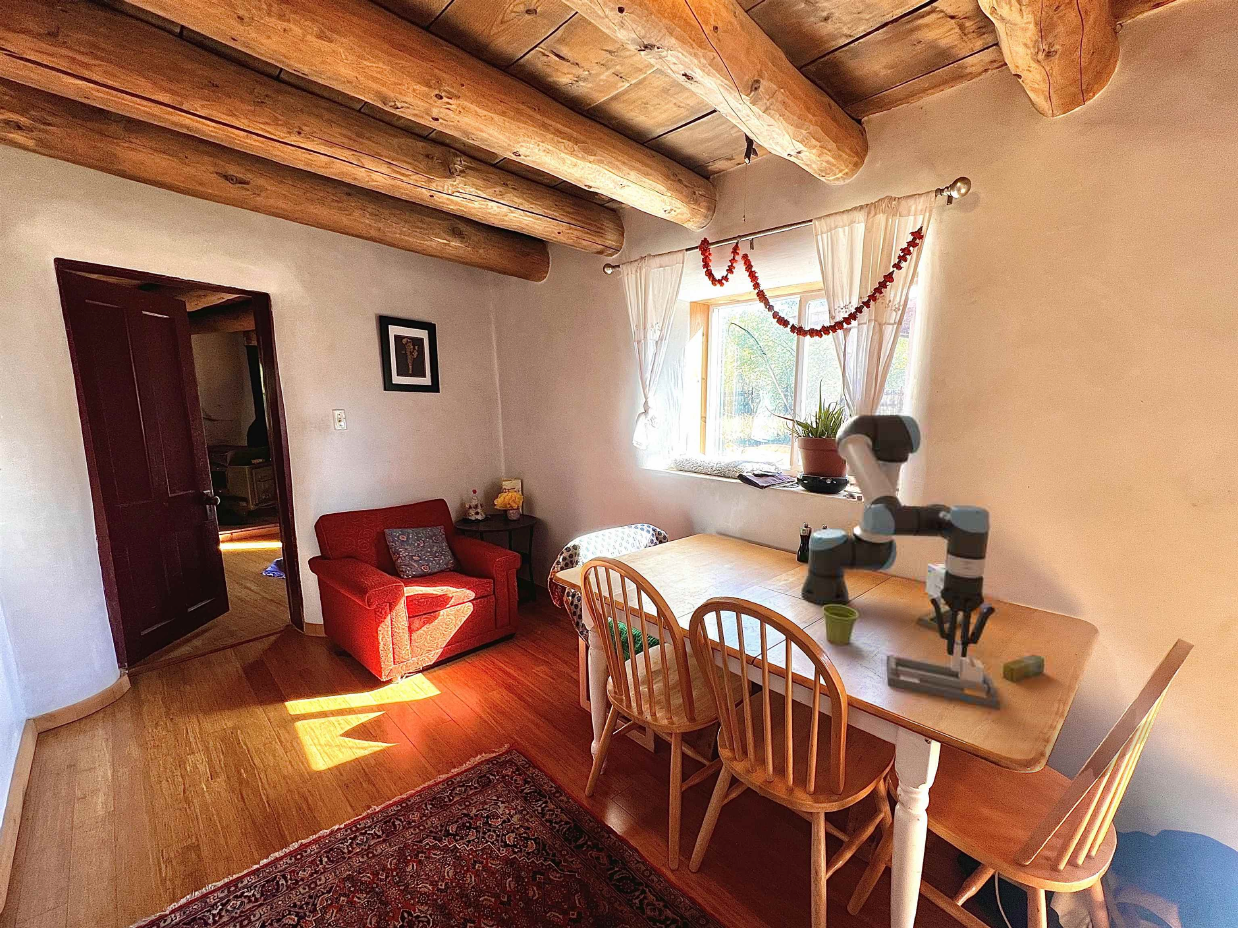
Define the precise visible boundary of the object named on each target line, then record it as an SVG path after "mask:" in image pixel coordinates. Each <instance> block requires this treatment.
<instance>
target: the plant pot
mask: <svg viewBox="0 0 1238 928" xmlns="http://www.w3.org/2000/svg"><path fill="white" fill-rule="evenodd" d="M822 612H823V615H824V622H825V633H826V635H825V636H826V639H827V641H830V642H831V643H833V644H836V645H841V646H842V645H846V644H850V642H851V639H852V632H853V629H854V625H855V622H856V621H857V618H858V617H859V613H858V611H857V610H856V609H853V608H851V607H849V606H845V605H823V606H822Z"/></svg>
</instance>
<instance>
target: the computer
mask: <svg viewBox="0 0 1238 928" xmlns="http://www.w3.org/2000/svg"><path fill="white" fill-rule="evenodd" d="M940 608H941V612H942V617H943V623H944V628H945V632H946V633H948V626H949V615H950V608H949V607H948V606H947V605H946V606H945V605H944V604H943V605H942V604H941V605H940ZM962 615H963V612H958V616H957V626H956V627H958V626H959V625H962ZM915 624H916V625H918V626H919V627H920V626H921V627H924V628H927V629H929V630H932V631H935V632H938V633H939V630H938V625H937V619H936V614H935V609H934V608H933V609H932V610H930V611H927V612H925V613H923V614H922V615H920V616H918V617H917V618H916V622H915Z"/></svg>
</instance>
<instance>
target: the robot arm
mask: <svg viewBox="0 0 1238 928" xmlns="http://www.w3.org/2000/svg"><path fill="white" fill-rule="evenodd" d="M921 439H922V437H921V431H920V427H919V425H918V423H917V421H916V419H915V418H913V416H910V415H900V414H858V415H855V416H853V417H851V418H849V419H847V420H846V421H844V422H843V423H842V424H841V426H840V428H839V429H838V430H837V433H836V436H835V448H836V450H837V453H838V456H840V458H841V459H843V460H845V461H846V463H847V465H848V467H849V469H850V472H851V475H852V476H853V478H854V480H855V483H856V485H857V487H858V489H859V491H860V494H861V496H862V497H863V505H862V510H861V516H860V523H859V525H857V526H855V527H854V529H853V533H852V534H851V535H850V534H849V535H848V534H847V532H846V531H844V530H842V529H833V528H831V529H830V528H829V529H820V530H816V531H814V532H813V533H812V534H811V535H810V538H809V544H808V548H809V549H808V566H807V575H806V578H805V580H804V581H803V585H802V587H801V596H802V598H803V599H804V600H806V601H808V602H811V603H814V604H817V605H822V606H826V605H842V606H845V605H847V604H848V603H849V597H850V594H849V590H848V588H847V584H846V583H847V582H846V580H845V579H846V578H845V571H847V570H851V571H854V570H855V571H872V572H879V571H888V570H890V569H891V568H892V567H893V565H894V564H895V562H896V559H897V553H898V551H897V541H895V539H894V538H893V536H896V537H897V536H899V537H900V536H901V537H906V536H908V537H930V538H932V537H933V538H936V537H938V538H941V539H944V540H946V541H947V543H946V546H947V547H946V557H945V563H944V564H945V568H946V569H947V570H946V571H945V575H944V586H943V589H942V590H941V592H940V594H939V595H936V596H933V595H931V596H930V595H929V597H928V598H929V601H930V602H929V603H931V605H932V607H933V609H935V614H936V619H937V625H938V630H939V632H938V633H939V637H940V639H942V640H946V642H947V643H946V644H947V645H946V652H947V655H948V656H950V665H949V666H951V668H952V670H953V671H958V672H960V662H961V657H964V658H965V657H966V658H967V652H968V647H969V645H972V644H973V645H977V644H978V643H979V641H980V638H981V636H982V634H983V631H984V629H985V626H986V625H987V622H988V619H989V617H990V616H991V615H993V614H994V613H995V611H996V610H995V608H994V606H993V604H991V603H988V602H987V601H985V598H984V596H983V589H984V588H983V587H984V579H985V578H984V577H983V575H985V567H986V555H987V549H988V542H989V541H988V540H989V531H990V528H991V527H990V526H991V525H990V513H989V511H988V509H985V508H983V507H980V506H979V507H978V506H975V505H966V504H964V505H963V504H958V505H953V506H952V507H950V506H949V505H948V506H947V505H946V504H940V503H935V502H934V503H929V504H927V505H902V502H901V501H900V499H899V498H898V496H897V494H896V493H897V488H898V483H899V479H900V473H901V469H902V465H903V464H905V463H907V462H908V461H909V456H910V454H915V453H917V452H918V450H919V449H920V446H921ZM942 599H943V600H944V601H945V603H946V607H949V608H950V615H949V626H948V631H947V632H945V628H944V623H943V617H942V612H941V608H940V606H942V604H943V603H942V602H941V600H942ZM979 607H980V612H979V613H978V616H977V618H976V621H975V623H974V626H973V628H972V630H971V632H970V629H971V627H970V626H971V618H972V613H973V612H974V611H976V610H977V609H978V608H979ZM958 612H961V613H963V615H962V623H961V627H960V636H959V638H960V640H959V639H956V633H957V627H958V626H957V616H958Z"/></svg>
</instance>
